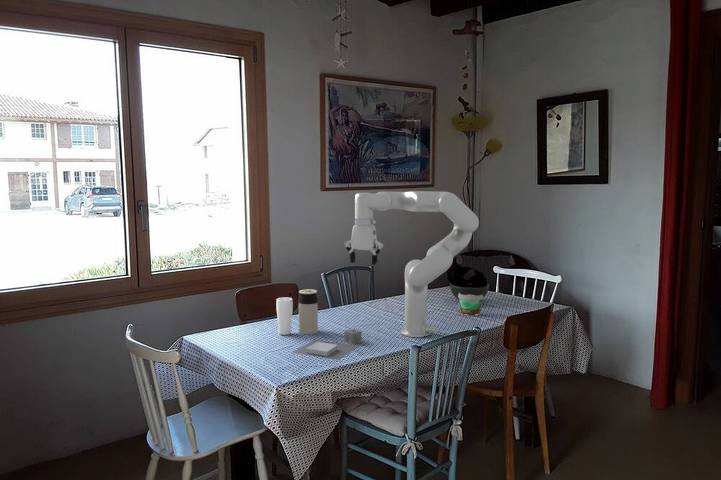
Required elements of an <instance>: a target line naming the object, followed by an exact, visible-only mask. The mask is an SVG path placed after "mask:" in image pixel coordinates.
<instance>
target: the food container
mask: <svg viewBox="0 0 721 480" xmlns="http://www.w3.org/2000/svg"><path fill="white" fill-rule="evenodd" d="M458 298H459V300H460V301H459V300H458V301H459V311H460V312H461V313H463V314H468V315H475V314H479V313H480V314H481V308H482V301H483V300H484V298H485V297H484V298H483V294H482V295H479V296H476V295H472V294H467V295H464V294H460V292H459V294H458ZM461 313H460V314H461Z"/></svg>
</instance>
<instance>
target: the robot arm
mask: <svg viewBox="0 0 721 480" xmlns="http://www.w3.org/2000/svg"><path fill="white" fill-rule="evenodd" d="M388 210H403V211H409V212H413V213H415V212H416V213H443V215H445V216H446V217H447V218H448V219H449V220H450V221H451V222H452V223H453V229H452V230H451V232H450V233H449V234H448V235H446V236H445V237H444V238H443V239H441V240H440V241H439V242H437V243H436V244H434V245H432V246H431V247H430V248H429V249H428V250H427V252H426V256H425V257H424V258H423V259H421V260H420V259H412V260H410V261H409V262H408V263H407V264H406V265H405V268H404V325H403V326H404V327H403V328H401V330H400V334H401V335H403V336H404V335H405V337H409V338H424V336H426V337H429V336H430V335H431V333H434V334H435V333H437V327H436V326H430V323H429V322H428V294H429V291H428V290H429V288H428V285H429V284H430V283H432V282H433V281H434V280H436V279H437V278H438V277H440V276H441V275H443V273H445V272H447V271H448V270H449V269H450V268H451V267H452V265H453V260H454V259H453V258H454V257H455V256H457V255H458V254H459V253H461V252H462V251H463V250H464V249H465V248H466V247H467V246H468V244H469V243H470V241H471V239H472V236H473V232H475V231H476V230H477V229H478V228H479V223H480V222H479V217H478V216H477V215H476V214H475V212H473V210H471V208H469V206H467V205H466V204H465V203H464V202H463V201H462V200H461V199H460V198H459V197H458V196H457V195H456V194H455V193H453V192H449V191H425V190H423V191H419V190H418V191H417V190H415V191H413V190H412V191H378V192H376V193H371V192H357V193H355V196H354V225H353V227H352V231H351V238H350V239H349V240H346V241H344V242H343V243H344V246H345V249H346V250H347V252H348V254H349V259H350V260H349V261H350V264H353V263H355V262H356V252H355V251H357V250H360V251H370V252H371V253H372V255H371V265H372V266H375V265H376V264H377V262H378V255H379V254H380V253H381V251H382V250H383V247H384V244H383V243H381V242H379V241H378V240H377V239H378V238H377V230H376V226H375V225H374V224H377V221H376V220H374V211H379V212H380V211H381V212H384V211H385V212H386V211H388ZM350 244H351V246H350ZM377 247H378V248H377ZM428 335H429V336H428Z"/></svg>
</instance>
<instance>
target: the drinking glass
mask: <svg viewBox="0 0 721 480" xmlns="http://www.w3.org/2000/svg"><path fill="white" fill-rule="evenodd" d="M293 308H294V302H293V298H292V297H286V296H285V297H283V296H282V297H278V298H276V316H277V317H276V319H277V328H278V329H277V331H278V334H279V335H281V336H288V335H290V334H292V320H293Z"/></svg>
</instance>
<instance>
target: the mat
mask: <svg viewBox="0 0 721 480" xmlns="http://www.w3.org/2000/svg"><path fill="white" fill-rule="evenodd" d="M316 342H321V343H328V344H335V345H338V350H336V351H335V352H333V353H331V354H330V355H328V356H321V355H314V354H308V353H306V348H307V347H309V346H311V345H313V344H314V343H316ZM359 347H360V345H356V344H349V343H341V342H334V341H327V340H320V339H313V340H312V341H311V340H310V341H309V342H308V343H305V344H304V345H302V346H300V347H299V348H297V349H295V350H293V351H292V353H295V354H300V355H307V356H312V357H313V356H314V357H319V358H326V359H332V360H339V361H340V360H341V359H343V358H344V357H345V356H347V355H349V354H350V353H351V352H354V350H356V349H358V348H359Z"/></svg>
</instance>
